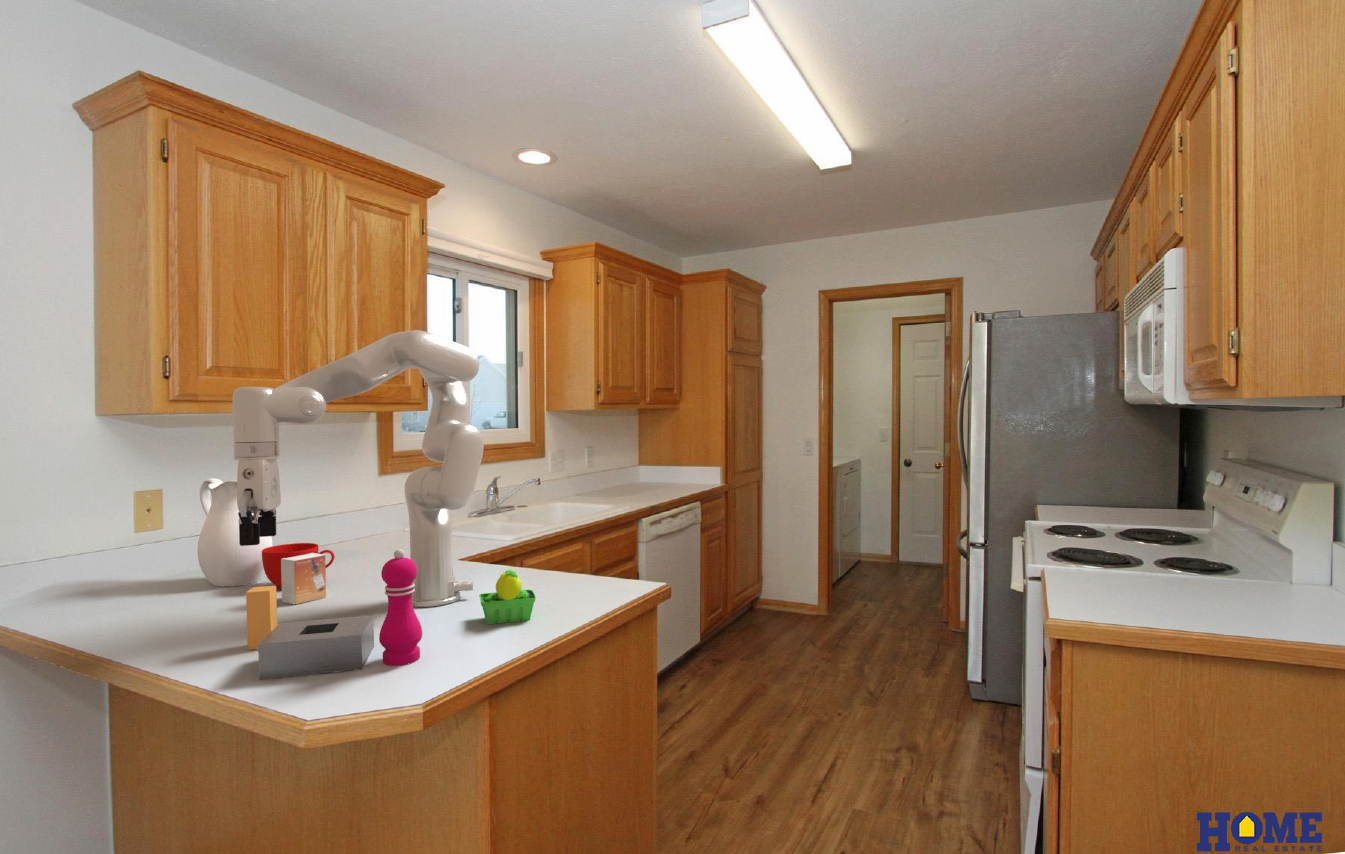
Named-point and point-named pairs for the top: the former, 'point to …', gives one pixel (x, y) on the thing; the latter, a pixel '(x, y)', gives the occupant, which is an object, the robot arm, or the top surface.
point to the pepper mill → (400, 612)
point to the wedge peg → (260, 614)
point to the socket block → (316, 647)
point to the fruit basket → (507, 600)
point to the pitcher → (226, 539)
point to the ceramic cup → (276, 553)
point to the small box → (303, 578)
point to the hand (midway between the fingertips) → (258, 540)
